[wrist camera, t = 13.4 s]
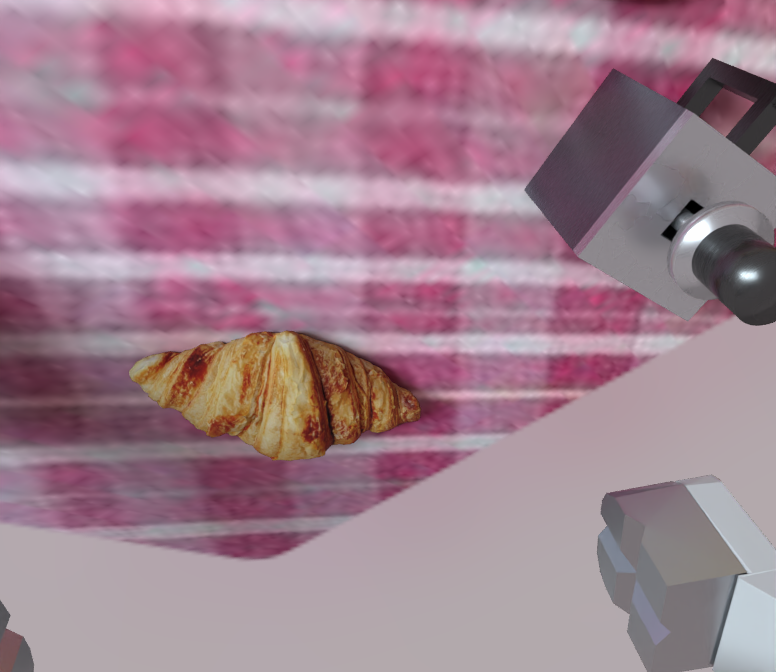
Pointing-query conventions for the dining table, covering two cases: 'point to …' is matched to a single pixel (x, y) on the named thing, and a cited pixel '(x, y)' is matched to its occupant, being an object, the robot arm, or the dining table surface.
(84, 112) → the dining table surface
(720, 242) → the plunger
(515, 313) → the dining table surface
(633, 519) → the robot arm
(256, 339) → the croissant
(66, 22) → the dining table surface
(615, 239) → the matte gray cube
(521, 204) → the dining table surface
